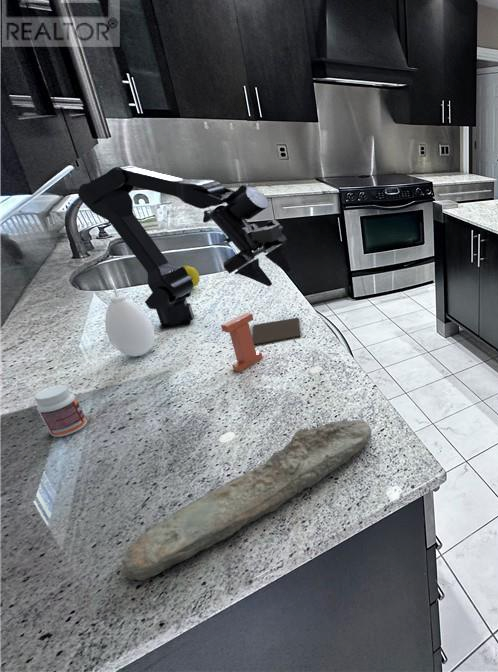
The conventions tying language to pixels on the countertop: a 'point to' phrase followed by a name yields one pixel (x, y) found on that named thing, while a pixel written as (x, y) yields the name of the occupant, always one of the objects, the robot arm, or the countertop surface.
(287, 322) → the dark brown square tile
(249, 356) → the letter I
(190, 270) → the lemon
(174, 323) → the robot arm
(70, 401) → the pill bottle
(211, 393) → the countertop surface
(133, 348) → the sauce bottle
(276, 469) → the long grey stone
